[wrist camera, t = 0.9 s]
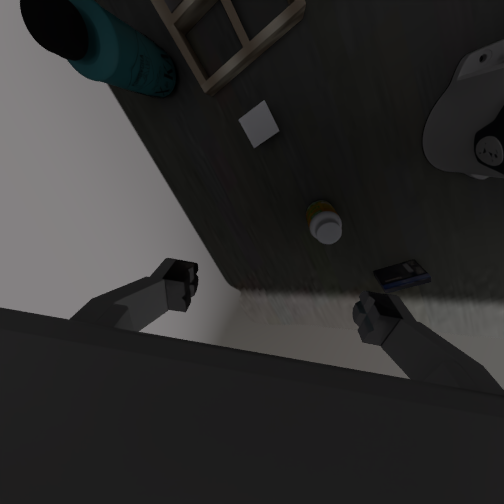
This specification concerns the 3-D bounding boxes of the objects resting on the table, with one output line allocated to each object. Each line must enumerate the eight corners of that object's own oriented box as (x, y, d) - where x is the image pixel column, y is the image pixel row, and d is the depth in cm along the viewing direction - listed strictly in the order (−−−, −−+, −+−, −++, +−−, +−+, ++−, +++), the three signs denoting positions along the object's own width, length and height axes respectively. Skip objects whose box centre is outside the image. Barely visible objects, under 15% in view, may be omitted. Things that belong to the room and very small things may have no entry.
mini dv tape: (413, 259, 45) (430, 276, 40) (414, 264, 46) (431, 281, 41) (373, 271, 48) (384, 288, 43) (374, 275, 48) (385, 293, 43)
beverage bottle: (141, 92, 35) (11, 58, 18) (142, 39, 32) (-17, -64, 15) (179, 106, 35) (87, 86, 18) (184, 55, 32) (77, -26, 15)
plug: (267, 106, 34) (264, 99, 26) (279, 130, 36) (279, 130, 28) (247, 121, 36) (238, 119, 28) (259, 144, 37) (254, 148, 29)
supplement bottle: (314, 195, 41) (323, 212, 32) (338, 206, 41) (353, 226, 33) (300, 219, 43) (305, 240, 35) (323, 229, 44) (334, 252, 36)
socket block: (257, -106, 24) (254, -148, 20) (302, 18, 29) (306, 2, 25) (161, 8, 30) (145, -9, 26) (212, 96, 34) (204, 92, 31)
